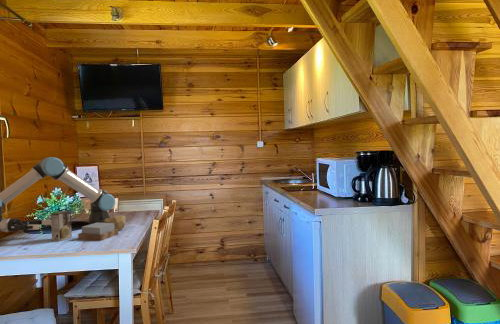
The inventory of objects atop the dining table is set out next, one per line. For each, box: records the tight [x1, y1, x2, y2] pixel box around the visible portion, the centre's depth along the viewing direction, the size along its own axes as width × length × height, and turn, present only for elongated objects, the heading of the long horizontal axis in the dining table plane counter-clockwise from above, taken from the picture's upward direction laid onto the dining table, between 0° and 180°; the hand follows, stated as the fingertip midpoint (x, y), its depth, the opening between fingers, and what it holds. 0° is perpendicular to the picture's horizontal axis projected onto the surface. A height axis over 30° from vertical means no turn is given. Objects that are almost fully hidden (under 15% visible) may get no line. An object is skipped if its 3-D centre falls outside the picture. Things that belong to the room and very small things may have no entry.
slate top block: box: [81, 223, 115, 235], centre depth 215 cm, size 13×13×4 cm
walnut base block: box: [77, 229, 119, 242], centre depth 215 cm, size 16×16×4 cm
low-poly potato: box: [104, 215, 126, 232], centre depth 233 cm, size 15×11×12 cm
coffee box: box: [50, 210, 73, 242], centre depth 211 cm, size 9×6×16 cm
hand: (46, 224), depth 211 cm, fingers open, 13 cm apart
